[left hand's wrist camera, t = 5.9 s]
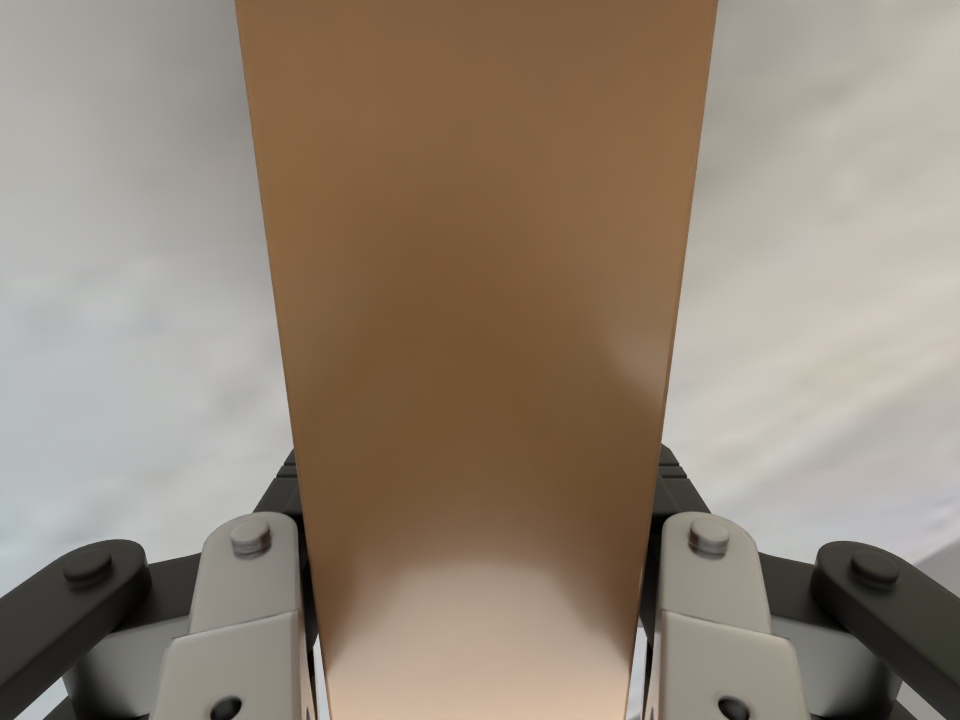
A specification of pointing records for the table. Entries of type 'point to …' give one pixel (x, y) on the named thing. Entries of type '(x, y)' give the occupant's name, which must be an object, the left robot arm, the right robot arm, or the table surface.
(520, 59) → the bar
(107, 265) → the table surface
